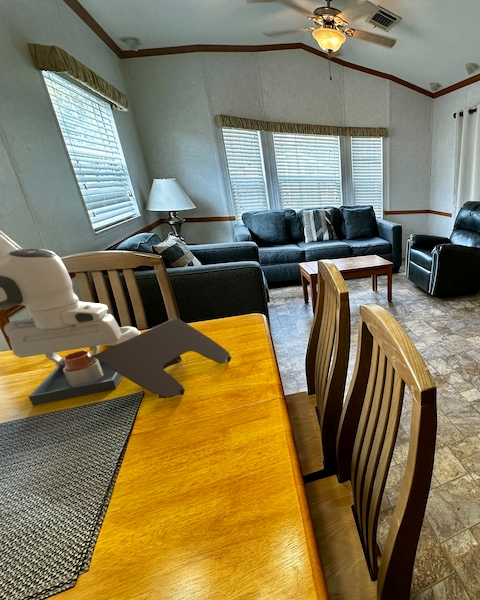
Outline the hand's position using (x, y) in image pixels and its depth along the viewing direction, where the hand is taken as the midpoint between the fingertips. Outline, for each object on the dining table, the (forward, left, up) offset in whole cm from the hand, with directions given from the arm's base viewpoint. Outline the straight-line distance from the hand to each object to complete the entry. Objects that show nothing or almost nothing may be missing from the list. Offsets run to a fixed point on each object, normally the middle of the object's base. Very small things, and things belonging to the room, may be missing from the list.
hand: (79, 363), depth 85 cm
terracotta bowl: (0, 0, -2) cm, 2 cm away
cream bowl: (0, 0, -5) cm, 5 cm away
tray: (0, 0, -6) cm, 6 cm away
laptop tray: (+22, -6, -6) cm, 24 cm away
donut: (+1, +24, -6) cm, 25 cm away
